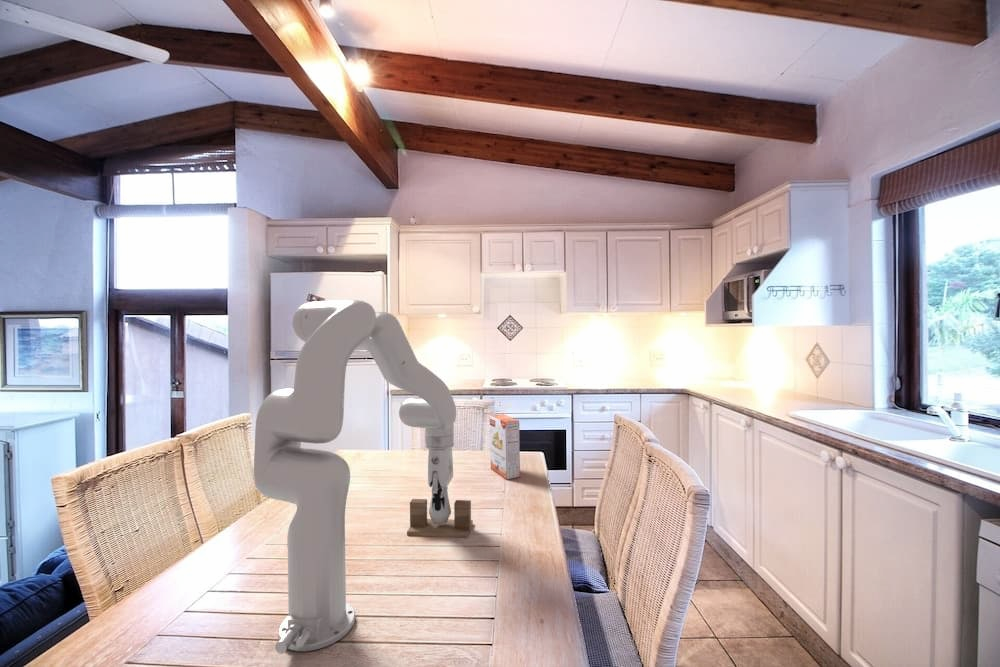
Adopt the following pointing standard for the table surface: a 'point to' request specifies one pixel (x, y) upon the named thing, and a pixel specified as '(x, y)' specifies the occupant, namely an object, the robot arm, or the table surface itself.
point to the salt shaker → (444, 513)
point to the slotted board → (448, 529)
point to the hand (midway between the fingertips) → (440, 508)
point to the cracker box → (505, 446)
